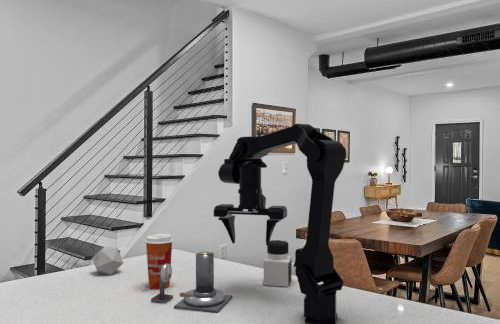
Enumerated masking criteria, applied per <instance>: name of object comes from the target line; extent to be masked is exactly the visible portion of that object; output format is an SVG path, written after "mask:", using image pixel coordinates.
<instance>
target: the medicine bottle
mask: <svg viewBox="0 0 500 324" xmlns="http://www.w3.org/2000/svg"><path fill="white" fill-rule="evenodd" d="M266 248H267V249H266V251H267V252H266V254H267V256H266V257H265V258H264V259H263V285H264V286H265V285H266V286H267V287H268V286H269V287H270V286H271V287H280V286H282V287H283V288H288V287H290V284H291V281H292V278H293V277H292V273H293V271H292V270H293V268H292V262H293V261H292V259H293V258H292V257H293V256H291V255H289V242H288V241H287V240H283V239H273V240H271V239H270V242H269V245H266ZM282 287H281V288H282Z"/></svg>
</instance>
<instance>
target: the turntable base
mask: <svg viewBox="0 0 500 324" xmlns="http://www.w3.org/2000/svg"><path fill="white" fill-rule="evenodd" d="M233 297H234V296H233V294H225V300H224V301H223V302H222V303H220V304H217V305H212V306H192V305H189V304H186V303H185V302H184V298H182V299H181V300H180V301H179V302H177V303H176V304H174V305H173V309H176V310H185V311H194V312H205V313H215V314H218V313H219V312H221V310H222V309H223V308H224V307H225V306H226V305H227V304H228V303H229V302H230V301H231V300H232V299H233Z"/></svg>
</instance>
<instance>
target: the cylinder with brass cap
mask: <svg viewBox="0 0 500 324" xmlns="http://www.w3.org/2000/svg"><path fill="white" fill-rule="evenodd" d="M214 261H215V253H214V252H210V251H202V252H201V251H200V252H197V253H195V288H194V291H193V293H194V296H195V297H197V298H211V297H214V296H216V289H217V288H215V271H214V270H215V269H214V268H215V267H214V266H215V262H214Z"/></svg>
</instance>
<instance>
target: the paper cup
mask: <svg viewBox="0 0 500 324" xmlns="http://www.w3.org/2000/svg"><path fill="white" fill-rule="evenodd" d="M144 242H145V246H146V248H145V249H146V260H147V261H146V262H147V263H146V264H147V277H148V287H149V289H150V290H160V265H164V264H170V265H171V266H172V252H173V251H172V247H173V242H174V239H173V237H172V235H171V234H169V233H168V234H167V233H158V234H157V233H156V234H154V233H153V234H151V235H148V236H146V239H145V241H144ZM170 283H171V279H170V280H169V281H168V282H164V285H165V289H168V288H169V287H170V285H171V284H170Z"/></svg>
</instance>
